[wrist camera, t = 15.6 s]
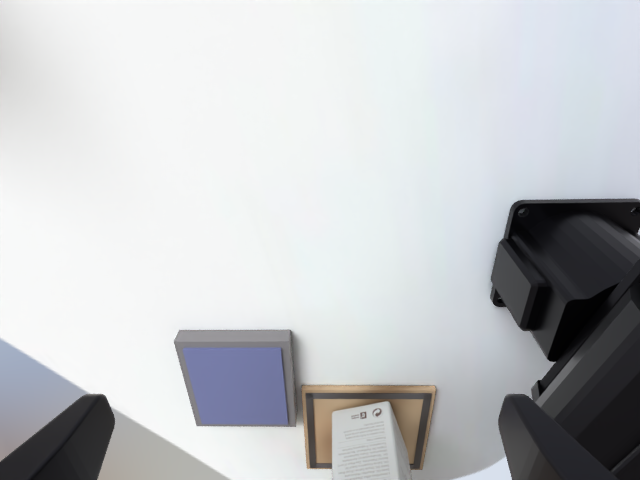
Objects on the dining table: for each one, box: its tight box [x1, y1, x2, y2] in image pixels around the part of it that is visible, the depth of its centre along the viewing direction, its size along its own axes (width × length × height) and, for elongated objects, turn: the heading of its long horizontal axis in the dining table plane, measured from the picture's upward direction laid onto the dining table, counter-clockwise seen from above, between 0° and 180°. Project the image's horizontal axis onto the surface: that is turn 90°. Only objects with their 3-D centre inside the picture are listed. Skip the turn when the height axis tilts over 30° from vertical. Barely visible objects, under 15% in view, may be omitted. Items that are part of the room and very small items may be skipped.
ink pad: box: [174, 330, 297, 427], centre depth 27 cm, size 7×8×1 cm
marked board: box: [302, 385, 436, 470], centre depth 29 cm, size 9×9×1 cm
